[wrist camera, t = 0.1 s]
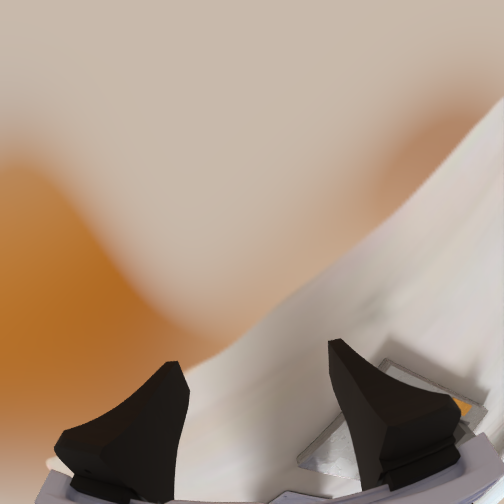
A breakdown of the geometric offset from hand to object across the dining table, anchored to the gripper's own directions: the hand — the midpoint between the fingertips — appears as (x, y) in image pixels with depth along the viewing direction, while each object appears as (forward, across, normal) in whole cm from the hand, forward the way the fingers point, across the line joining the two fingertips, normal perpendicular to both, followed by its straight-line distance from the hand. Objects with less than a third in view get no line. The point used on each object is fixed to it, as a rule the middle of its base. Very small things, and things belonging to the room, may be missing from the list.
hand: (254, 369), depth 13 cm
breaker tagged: (+5, -21, +23) cm, 32 cm away
